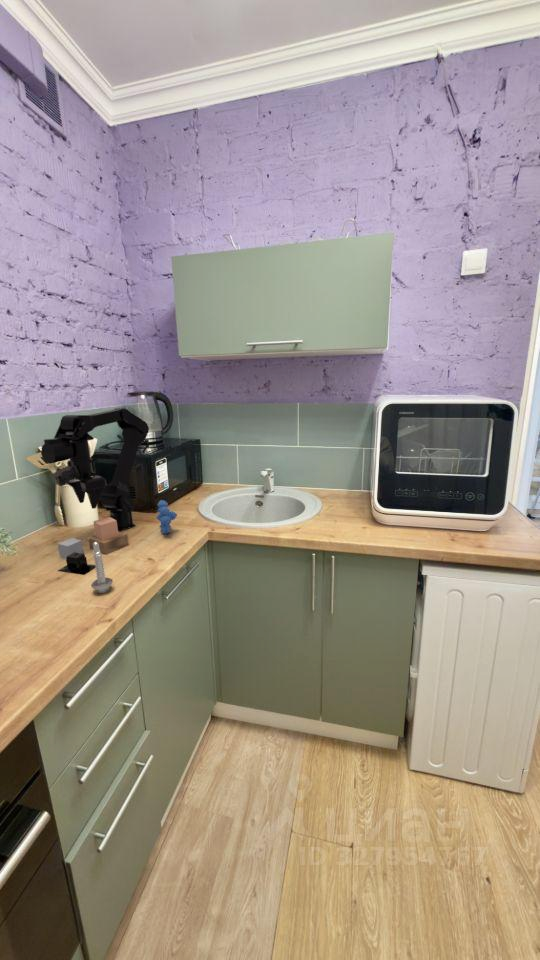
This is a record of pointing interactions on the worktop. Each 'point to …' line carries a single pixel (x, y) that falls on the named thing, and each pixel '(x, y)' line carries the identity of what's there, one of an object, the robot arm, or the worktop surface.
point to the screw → (100, 572)
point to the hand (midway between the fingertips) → (87, 505)
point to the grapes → (165, 516)
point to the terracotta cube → (106, 528)
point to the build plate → (77, 564)
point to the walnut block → (110, 543)
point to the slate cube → (70, 547)
